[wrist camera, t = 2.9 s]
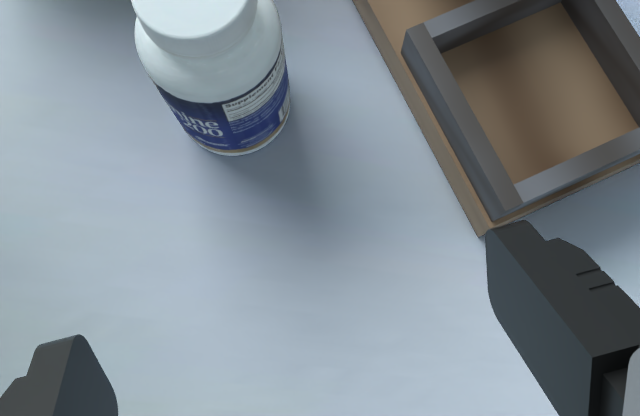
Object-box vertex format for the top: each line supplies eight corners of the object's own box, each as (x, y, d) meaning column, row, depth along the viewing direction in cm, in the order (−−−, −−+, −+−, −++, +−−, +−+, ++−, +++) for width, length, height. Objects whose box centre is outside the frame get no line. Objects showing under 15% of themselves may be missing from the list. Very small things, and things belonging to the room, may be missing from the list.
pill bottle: (156, 102, 29) (72, -22, 19) (241, 34, 30) (201, -117, 20) (228, 182, 28) (177, 93, 18) (314, 109, 28) (308, -12, 19)
